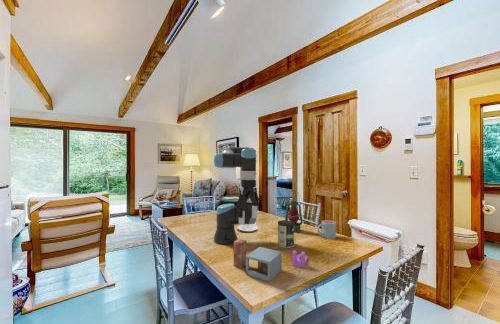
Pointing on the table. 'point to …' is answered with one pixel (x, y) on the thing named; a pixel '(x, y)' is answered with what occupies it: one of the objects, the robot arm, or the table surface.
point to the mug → (328, 229)
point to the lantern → (294, 213)
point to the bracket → (298, 259)
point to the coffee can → (286, 233)
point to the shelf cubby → (265, 256)
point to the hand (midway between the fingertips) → (248, 221)
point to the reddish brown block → (241, 257)
